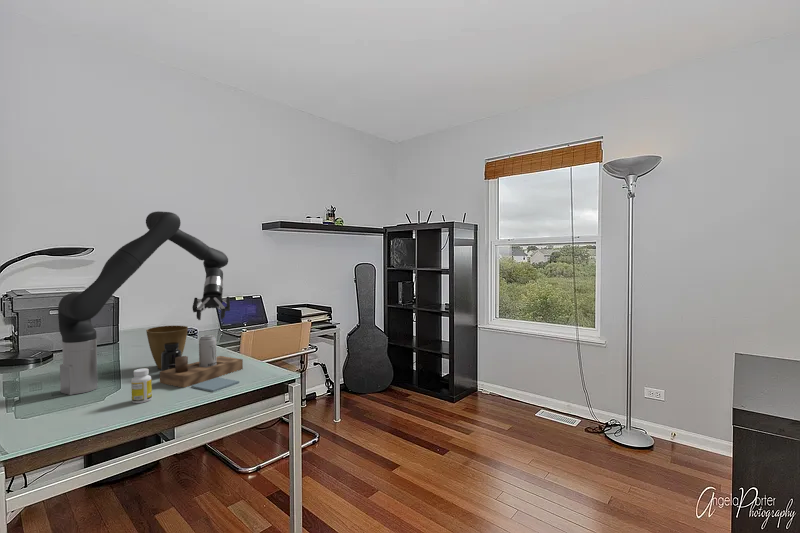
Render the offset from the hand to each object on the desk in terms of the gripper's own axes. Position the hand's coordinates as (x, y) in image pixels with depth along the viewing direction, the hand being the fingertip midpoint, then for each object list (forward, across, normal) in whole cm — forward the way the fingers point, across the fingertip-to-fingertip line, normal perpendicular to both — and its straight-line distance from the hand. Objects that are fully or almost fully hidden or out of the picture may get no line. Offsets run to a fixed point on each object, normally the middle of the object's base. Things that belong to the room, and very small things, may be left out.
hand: (210, 318), depth 168 cm
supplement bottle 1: (+40, -16, -11) cm, 44 cm away
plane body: (+23, -1, +5) cm, 24 cm away
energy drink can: (+22, 0, +6) cm, 23 cm away
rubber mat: (+33, +4, -5) cm, 34 cm away
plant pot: (+10, -17, +18) cm, 27 cm away
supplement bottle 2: (+19, -13, +10) cm, 25 cm away
